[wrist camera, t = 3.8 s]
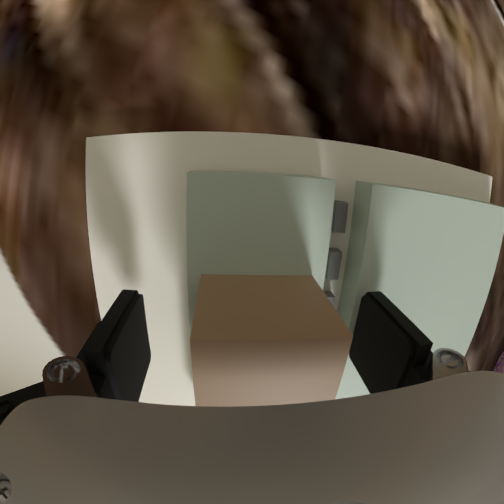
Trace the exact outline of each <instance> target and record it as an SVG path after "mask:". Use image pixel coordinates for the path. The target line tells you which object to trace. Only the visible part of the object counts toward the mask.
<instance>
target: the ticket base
mask: <svg viewBox="0 0 504 504" xmlns="http://www.w3.org/2000/svg"><path fill="white" fill-rule="evenodd" d="M190 171H238V172H261V173H278V174H293V175H306V176H318V177H325V178H329V179H333V180H336V186H335V197H334V207H333V217H332V226H331V235H330V243H329V251H328V258H327V265H326V273H325V279H324V286H323V292H324V293H325V295H326V296H327V297H328V299H329V300H330V302H331V303H332V305H333V306H334V308H335V309H336V311H337V312H338V314H339V315H340V317H341V318H342V319H343V321H344V322H345V324H346V325H347V327H348V328H349V330H350V331H351V333H352V334H353V332H354V328H355V324H356V320H357V315H358V311H359V307H360V302H361V298H362V296H363V295H365V294H366V293H367V292H374V291H380V292H382V293H383V294H384V295H385V296H386V297H387V298H388V299H389V300H390V301H391V302H392V303H393V304H394V305H396V306H397V307H398V308H399V309H400V310H401V311H402V312H403V313H404V314H405V315H406V316H407V317H408V318H409V319H410V320H411V321H412V322H413V323H414V324H415V325H416V326H417V327H418V328H419V329H420V330H421V331H422V332H423V333H424V334H425V335H426V336H427V337H428V338H429V339H430V340H431V341H432V342H433V345H432V348H431V351H432V352H433V353H434V351H435V350H437V349H439V348H449V349H453V350H455V351H457V352H459V353H460V354H462V355H463V356H465V354H466V352H467V350H468V347H469V345H470V342H471V340H472V338H473V335H474V333H475V330H476V328H477V325H478V322H479V320H480V317H481V314H482V311H483V308H484V305H485V302H486V299H487V296H488V293H489V290H490V287H491V283H492V280H493V276H494V272H495V269H496V265H497V261H498V257H499V253H500V248H501V244H502V239H503V234H504V207H501V206H498V205H495V204H492V203H490V195H491V186H492V176H489V175H486V174H483V173H479V172H476V171H473V170H469V169H466V168H463V167H459V166H455V165H452V164H448V163H444V162H440V161H437V160H433V159H428V158H424V157H420V156H416V155H411V154H407V153H402V152H397V151H392V150H387V149H382V148H376V147H371V146H365V145H359V144H352V143H346V142H339V141H332V140H324V139H316V138H307V137H297V136H287V135H275V134H261V133H242V132H209V131H182V132H148V133H131V134H117V135H106V136H95V137H86V202H87V219H88V232H89V242H90V252H91V260H92V268H93V275H94V282H95V288H96V294H97V300H98V306H99V311H100V316H101V321H102V319H103V318H104V316H105V315H106V313H107V312H108V310H109V309H110V307H111V306H112V304H113V303H114V301H115V300H116V298H117V297H118V295H119V294H120V292H121V291H122V290H123V289H125V290H137V291H138V293H139V294H142V295H143V298H144V307H145V315H146V323H147V330H148V337H149V344H150V350H151V361H150V364H149V368H148V371H147V374H146V378H145V381H144V384H143V388H142V391H141V395H140V398H139V402H144V403H155V404H167V405H183V406H195V396H194V386H193V375H192V363H191V350H190V326H189V308H188V284H187V241H186V196H187V172H190ZM367 394H370V393H369V391H368V389H367V387H366V386H365V384H364V382H363V380H362V379H361V377H360V375H359V373H358V372H357V370H356V368H355V366H354V365H353V363H352V361H351V360H350V357H349V354H348V358H347V361H346V365H345V368H344V372H343V375H342V379H341V382H340V385H339V388H338V392H337V395H336V398H335V399H341V398H348V397H355V396H361V395H367Z"/></svg>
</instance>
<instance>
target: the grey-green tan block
mask: <svg viewBox="0 0 504 504" xmlns="http://www.w3.org/2000/svg"><path fill="white" fill-rule="evenodd" d="M335 186H336V180H333V179H329V178H325V177H318V176H306V175H293V174H278V173H261V172H238V171H190V172H187V196H186V241H187V284H188V308H189V326H190V350H191V363H192V375H193V386H194V396H195V406H225V407H227V406H267V405H284V404H296V403H307V402H317V401H326V400H334V399H335V398H336V395H337V392H338V388H339V385H340V382H341V379H342V375H343V372H344V368H345V365H346V361H347V358H348V354H349V350H350V347H351V343H352V339H353V334H352V333H351V331H350V330H349V328H348V327H347V325H346V324H345V322H344V321H343V319H342V318H341V317H340V315H339V314H338V312H337V311H336V309H335V308H334V306H333V305H332V303H331V302H330V300H329V299H328V297H327V296H326V295H325V293H324V292H323V286H324V279H325V273H326V265H327V258H328V251H329V243H330V235H331V226H332V217H333V207H334V197H335Z"/></svg>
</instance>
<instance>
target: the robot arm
mask: <svg viewBox="0 0 504 504" xmlns="http://www.w3.org/2000/svg"><path fill="white" fill-rule="evenodd" d="M432 345H433V342H432V341H431V340H430V339H429V338H428V337H427V336H426V335H425V334H424V333H423V332H422V331H421V330H420V329H419V328H418V327H417V326H416V325H415V324H414V323H413V322H412V321H411V320H410V319H409V318H408V317H407V316H406V315H405V314H404V313H403V312H402V311H401V310H400V309H399V308H398V307H397V306H396V305H394V304H393V303H392V302H391V301H390V300H389V299H388V298H387V297H386V296H385V295H384V294H383V293H382V292H380V291H374V292H367V293H366V294H365V295H363V296H362V298H361V302H360V307H359V311H358V315H357V320H356V324H355V328H354V332H353V339H352V343H351V347H350V350H349V357H350V360H351V361H352V363H353V365H354V366H355V368H356V370H357V372H358V373H359V375H360V377H361V379H362V380H363V382H364V384H365V386H366V387H367V389H368V391H369V393H370V394H367V395H361V396H355V397H348V398H341V399H334V400H326V401H317V402H307V403H296V404H284V405H267V406H227V407H225V406H183V405H167V404H155V403H144V402H139V398H140V395H141V391H142V388H143V384H144V381H145V378H146V374H147V371H148V368H149V364H150V361H151V350H150V344H149V337H148V330H147V323H146V315H145V307H144V298H143V295H142V294H139V293H138V291H137V290H125V289H123V290H122V291H121V292H120V294H119V295H118V297H117V298H116V300H115V301H114V303H113V304H112V306H111V307H110V309H109V310H108V312H107V313H106V315H105V316H104V318H103V319H102V321H100V322H99V323H98V324H97V326H96V327H95V329H94V330H93V332H92V333H91V335H90V336H89V338H88V340H87V341H86V343H85V344H84V346H83V348H82V349H81V351H80V352H79V354H78V356H77V357H76V358H75V357H72V356H63V357H58V358H56V359H53V360H52V361H50V362H48V364H47V365H46V366H45V367H44V369H43V375H42V376H43V382H40V383H37V384H34V385H31V386H29V387H26V388H23V389H20V390H18V391H15V392H12V393H9V394H6V395H3V396H0V504H504V374H503V373H499V372H494V371H473V372H471V371H468V365H467V361H466V359H465V357H464V356H463V355H462V354H460V353H459V352H457V351H455V350H453V349H449V348H439V349H437V350H435V351H434V353H433V352H432V351H431V348H432Z"/></svg>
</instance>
